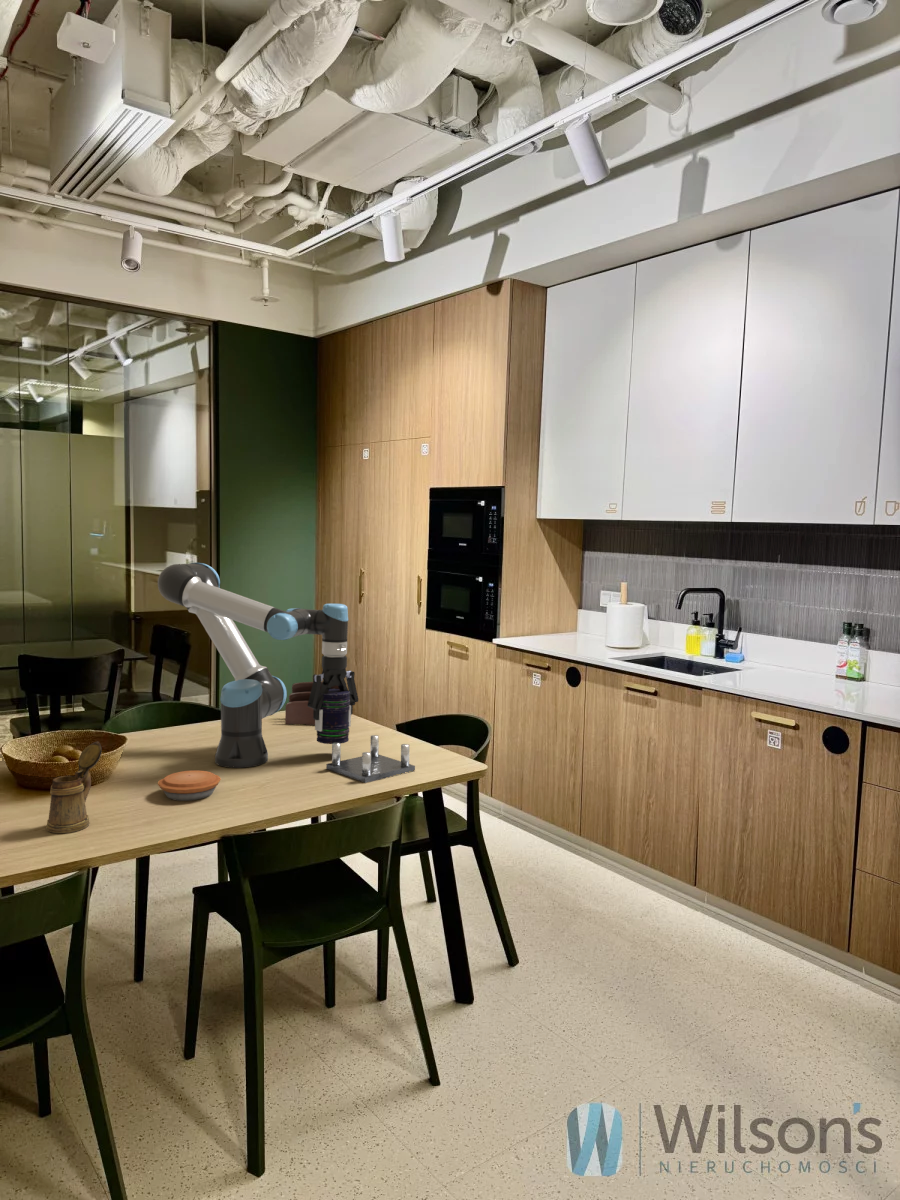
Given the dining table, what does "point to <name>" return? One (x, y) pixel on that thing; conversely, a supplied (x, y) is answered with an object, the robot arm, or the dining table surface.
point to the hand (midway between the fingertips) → (332, 728)
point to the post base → (376, 768)
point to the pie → (189, 785)
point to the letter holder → (300, 704)
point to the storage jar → (335, 717)
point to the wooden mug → (72, 795)
